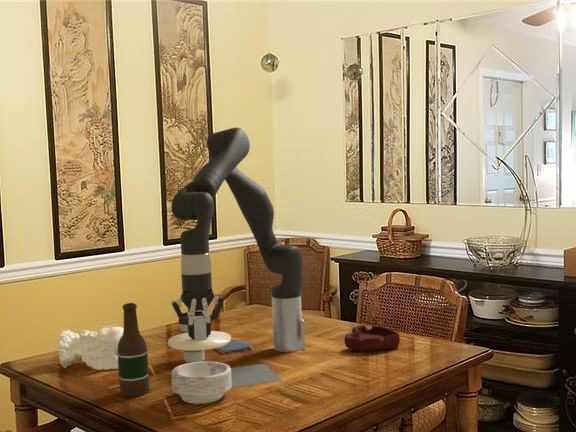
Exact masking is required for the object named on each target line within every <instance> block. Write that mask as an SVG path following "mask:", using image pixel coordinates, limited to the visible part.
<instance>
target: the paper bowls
mask: <svg viewBox="0 0 576 432" xmlns="http://www.w3.org/2000/svg"><path fill="white" fill-rule="evenodd" d="M231 368H232V367H231V366H230V365H229V364H226V363H223V362H219V361H200V362H186V363H184V364H180V365H178V366H175V367H174V368H173V369H172V371H171V389H172V392H174V393H175V394H177V395H179V396H180V398H181V400H182V401H183V402H185V403H189V404H194V405H195V404H196V405H197V404H199V405H200V404H209V403H213V402H216V401H219V400H220V399H222V398H223V397H224V395H225V393H226V392H228V391H229V390H231V389H232V388H231V383H232V381H231V380H232V379H231Z"/></svg>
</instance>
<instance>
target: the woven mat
mask: <svg viewBox="0 0 576 432" xmlns="http://www.w3.org/2000/svg"><path fill="white" fill-rule="evenodd" d="M214 350H216V351H218V353H221V354H223V355H224V356H225V355H233V354H234V355H235V354H241V353H245V352H246V353H247V352H251V351H255V349H254V346H253V345H251V344H249V343H247V342H245V341H243V340H241V339H236V340H235V341H234V340H231V342H230V343H229V344H227V345H224V346H222V347H218V348H214Z"/></svg>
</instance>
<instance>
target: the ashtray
mask: <svg viewBox="0 0 576 432" xmlns="http://www.w3.org/2000/svg"><path fill="white" fill-rule="evenodd" d="M351 328H352V329H351V330H352V331H351V333H346V334H345V335H344V338H343V339H344V341H343V342H344V345H345V347H346V348H348V349H349V350H350V351H351V352H353V353H359V352H367V351H378V350H379V351H380V350H381V351H383V350H392V349H396V348H398V347H399V345H400V343H401V342H400V341H401V340H400V339H401V338H400V334H399V332H397V331H394V330H392V329H390V328H388V327H384V326H382V325H372V327H371V328H367V327H366V325H365V324H359V325H357V326H353V327H351Z"/></svg>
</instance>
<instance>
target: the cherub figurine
mask: <svg viewBox="0 0 576 432" xmlns="http://www.w3.org/2000/svg"><path fill="white" fill-rule="evenodd" d="M123 330H124V327H122V326H112V327H102V328H100V329H99V331H98V332H97V331H93V330H86V329H83V330H82V331H81V333H79V334H78V332H74V331H71V330H70V329H66V330H63V331H62V332H61V333H60V335H59V340H58V344H57V354H58V361H59V363H60V365H61V366H62V368H64V369H66V368H68V366H71V365H72V364H73V363H76V362H78V360H79V359H80V358H81V361H82V362H83V363H85V365H86V366H87V367H89V368H91V369H93V370H97V371H103V370H104V371H110V370H119V369H118V344H119V340H120V339H121V337H122V335H123Z"/></svg>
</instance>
